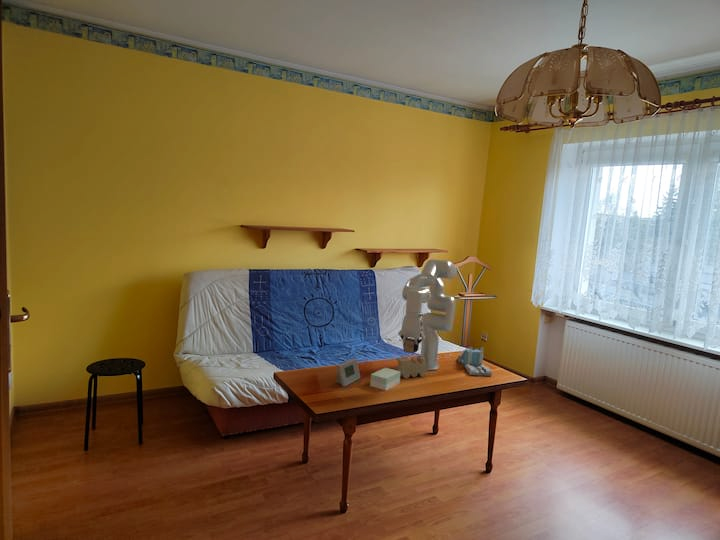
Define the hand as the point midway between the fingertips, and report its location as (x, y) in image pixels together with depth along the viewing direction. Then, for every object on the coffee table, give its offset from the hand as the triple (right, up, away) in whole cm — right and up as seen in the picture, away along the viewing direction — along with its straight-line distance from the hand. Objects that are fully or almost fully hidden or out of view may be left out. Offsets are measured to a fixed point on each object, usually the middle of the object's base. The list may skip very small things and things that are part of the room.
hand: (410, 350), depth 230 cm
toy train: (+3, -18, +20) cm, 27 cm away
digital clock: (-31, -17, +5) cm, 36 cm away
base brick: (-12, -18, +5) cm, 23 cm away
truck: (+41, -18, +41) cm, 60 cm away
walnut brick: (0, -1, 0) cm, 1 cm away
